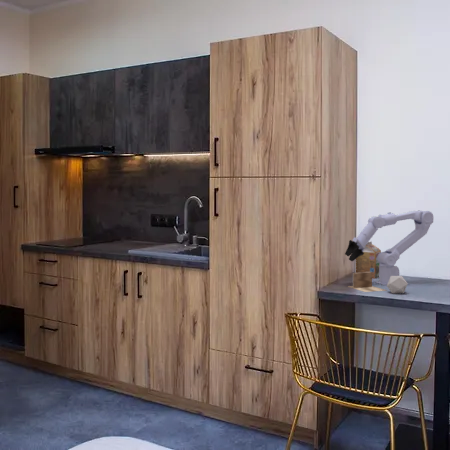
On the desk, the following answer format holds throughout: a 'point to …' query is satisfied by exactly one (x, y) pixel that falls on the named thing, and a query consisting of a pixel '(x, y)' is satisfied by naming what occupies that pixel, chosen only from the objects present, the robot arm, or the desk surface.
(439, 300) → the desk surface
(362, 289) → the light wood board
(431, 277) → the desk surface
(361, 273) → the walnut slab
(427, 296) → the desk surface
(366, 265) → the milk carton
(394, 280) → the die
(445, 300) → the desk surface
